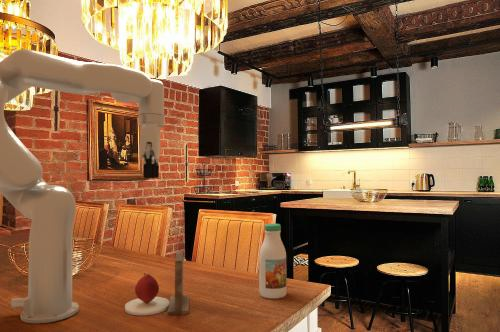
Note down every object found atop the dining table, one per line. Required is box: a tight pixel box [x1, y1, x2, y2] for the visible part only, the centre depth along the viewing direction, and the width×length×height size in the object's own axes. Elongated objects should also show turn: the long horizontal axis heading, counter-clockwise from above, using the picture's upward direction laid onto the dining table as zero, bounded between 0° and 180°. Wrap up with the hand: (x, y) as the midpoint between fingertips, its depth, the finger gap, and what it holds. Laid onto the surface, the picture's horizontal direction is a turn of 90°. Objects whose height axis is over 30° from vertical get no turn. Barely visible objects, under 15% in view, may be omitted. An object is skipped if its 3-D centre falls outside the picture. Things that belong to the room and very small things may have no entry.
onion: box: [134, 271, 160, 304], centre depth 96 cm, size 6×6×8 cm
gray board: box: [167, 250, 190, 316], centre depth 97 cm, size 5×12×13 cm, turn 9°
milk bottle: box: [258, 223, 287, 300], centre depth 106 cm, size 8×8×20 cm
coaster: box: [124, 296, 170, 317], centre depth 96 cm, size 11×11×1 cm
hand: (151, 177), depth 113 cm, fingers open, 9 cm apart
